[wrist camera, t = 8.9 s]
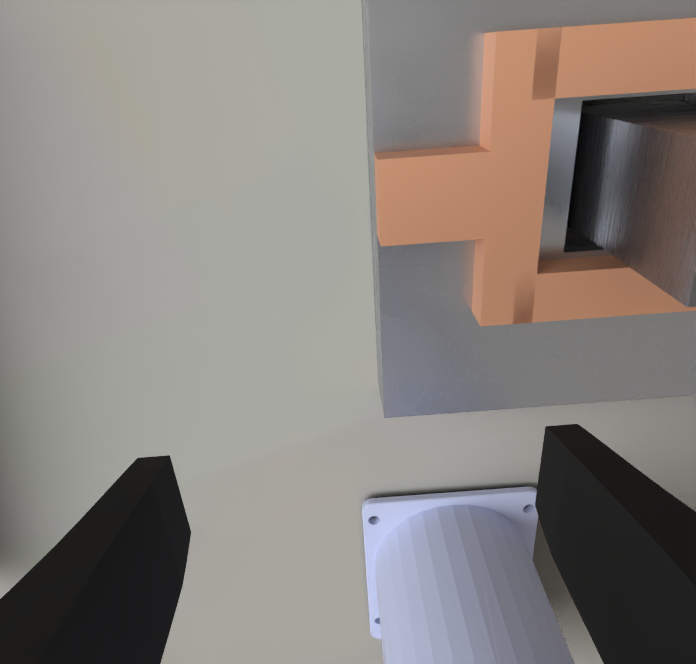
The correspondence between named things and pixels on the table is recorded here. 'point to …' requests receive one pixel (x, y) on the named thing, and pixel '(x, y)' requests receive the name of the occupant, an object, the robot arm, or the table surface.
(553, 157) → the silver base plate
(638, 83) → the bracket
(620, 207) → the grey rectangular box
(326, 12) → the table surface
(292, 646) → the table surface
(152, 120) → the table surface
